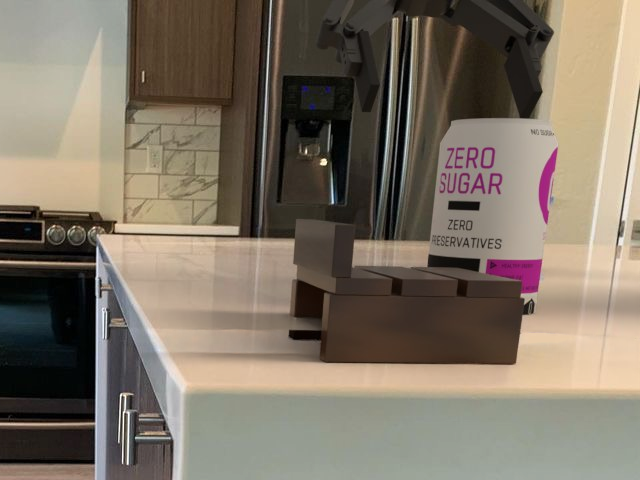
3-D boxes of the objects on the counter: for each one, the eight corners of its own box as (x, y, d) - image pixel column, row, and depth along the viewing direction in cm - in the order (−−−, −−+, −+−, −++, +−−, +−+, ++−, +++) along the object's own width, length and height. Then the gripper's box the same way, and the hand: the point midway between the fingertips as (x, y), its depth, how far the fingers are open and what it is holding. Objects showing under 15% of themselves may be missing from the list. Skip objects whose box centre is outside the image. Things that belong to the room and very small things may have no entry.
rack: (453, 339, 68) (466, 223, 65) (516, 364, 58) (534, 229, 56) (288, 337, 67) (295, 218, 64) (324, 362, 57) (335, 224, 55)
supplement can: (530, 326, 76) (557, 126, 71) (533, 339, 68) (564, 117, 64) (425, 319, 78) (446, 125, 74) (417, 332, 71) (439, 117, 66)
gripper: (521, -15, 92) (575, 143, 82) (268, -28, 90) (292, 132, 80) (556, -92, 85) (620, 69, 75) (284, -109, 83) (312, 55, 73)
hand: (451, 102), depth 78 cm, fingers open, 13 cm apart
